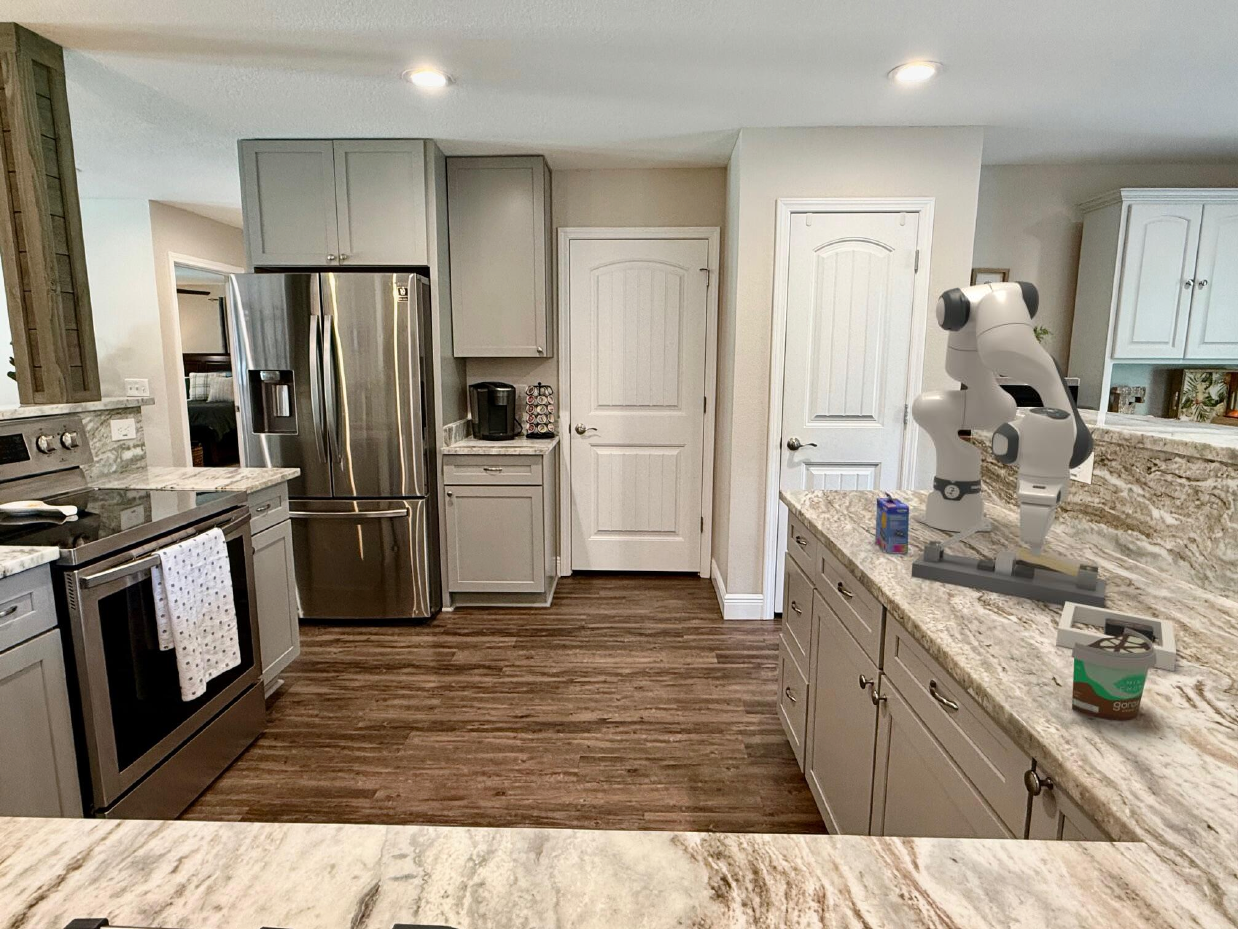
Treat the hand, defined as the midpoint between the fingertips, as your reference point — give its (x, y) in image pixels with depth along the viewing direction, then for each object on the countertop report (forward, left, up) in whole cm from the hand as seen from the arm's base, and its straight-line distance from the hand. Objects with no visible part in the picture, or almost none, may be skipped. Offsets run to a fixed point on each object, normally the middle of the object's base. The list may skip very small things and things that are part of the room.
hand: (1035, 554), depth 130 cm
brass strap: (-1, +3, -2) cm, 4 cm away
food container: (+46, +15, -8) cm, 49 cm away
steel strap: (-1, -14, 0) cm, 14 cm away
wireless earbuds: (+17, +16, -8) cm, 25 cm away
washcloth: (-20, 0, -9) cm, 21 cm away
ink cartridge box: (-14, -32, -8) cm, 36 cm away
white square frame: (+19, +14, -8) cm, 25 cm away
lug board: (-1, -5, -8) cm, 9 cm away
